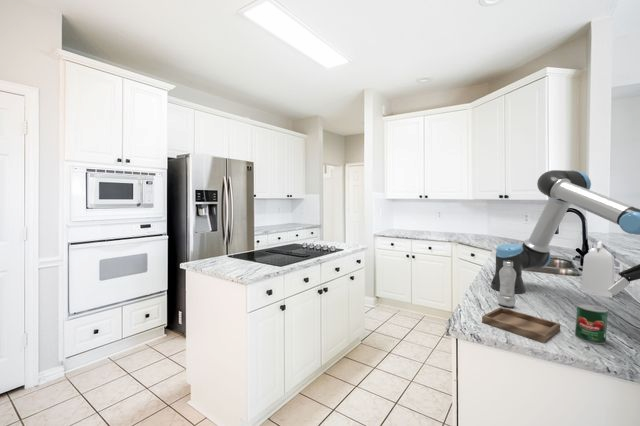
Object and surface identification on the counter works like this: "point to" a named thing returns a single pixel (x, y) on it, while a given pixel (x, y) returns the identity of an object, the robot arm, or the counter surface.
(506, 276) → the plastic bottle
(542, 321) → the walnut tray
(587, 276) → the milk
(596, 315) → the canned tomato
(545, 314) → the counter surface
